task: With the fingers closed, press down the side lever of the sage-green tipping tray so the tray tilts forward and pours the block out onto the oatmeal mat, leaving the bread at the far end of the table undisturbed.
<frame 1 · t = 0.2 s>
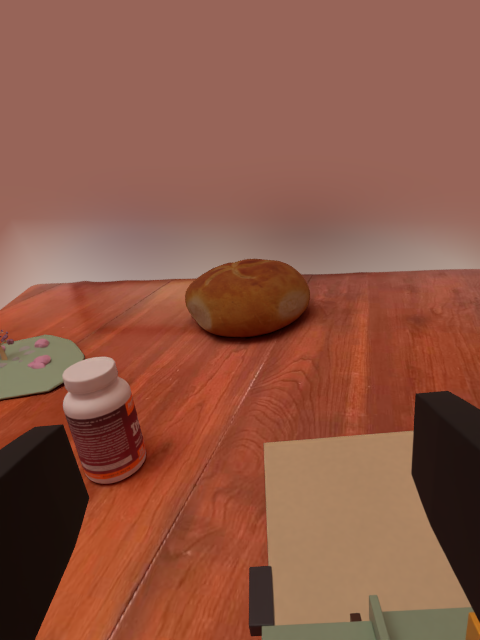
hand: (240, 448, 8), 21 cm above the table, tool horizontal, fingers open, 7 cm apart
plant: (22, 368, 66), on the table
mat: (397, 520, 31), on the table
bread: (248, 318, 75), on the table
pill bottle: (117, 465, 41), on the table
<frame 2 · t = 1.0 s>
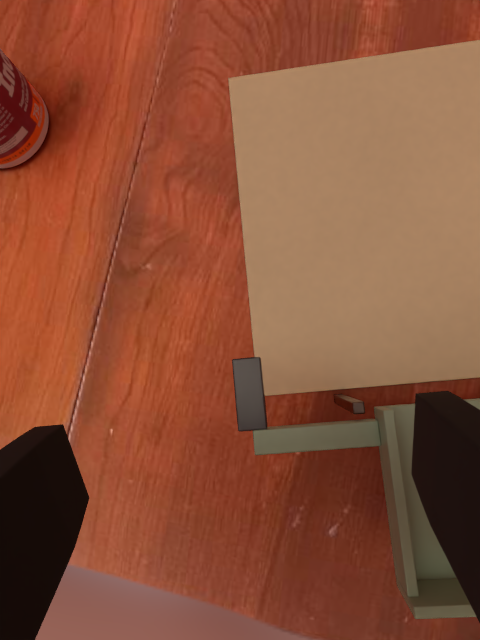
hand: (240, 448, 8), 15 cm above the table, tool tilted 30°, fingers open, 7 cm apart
mat: (411, 210, 24), on the table
stand: (448, 454, 22), on the table
tray: (441, 464, 16), point 7 cm above the table, hinge at 0.0°, touching block
pill bottle: (10, 129, 27), on the table
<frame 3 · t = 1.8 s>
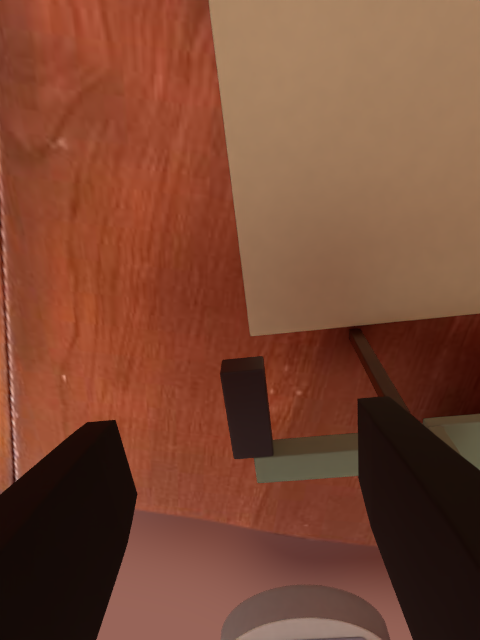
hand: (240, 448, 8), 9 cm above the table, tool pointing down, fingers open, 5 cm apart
stand: (476, 390, 19), on the table
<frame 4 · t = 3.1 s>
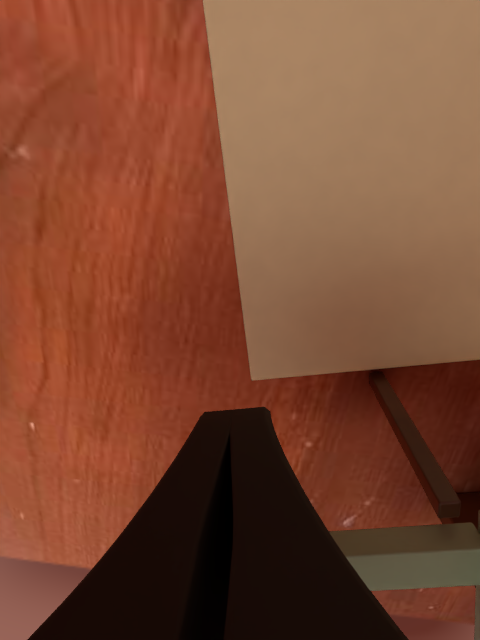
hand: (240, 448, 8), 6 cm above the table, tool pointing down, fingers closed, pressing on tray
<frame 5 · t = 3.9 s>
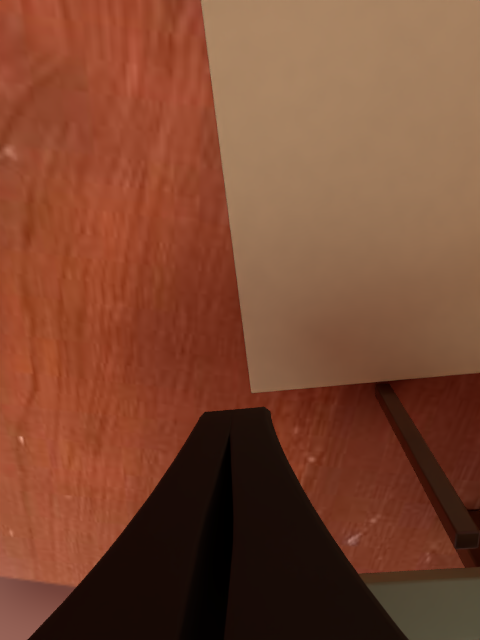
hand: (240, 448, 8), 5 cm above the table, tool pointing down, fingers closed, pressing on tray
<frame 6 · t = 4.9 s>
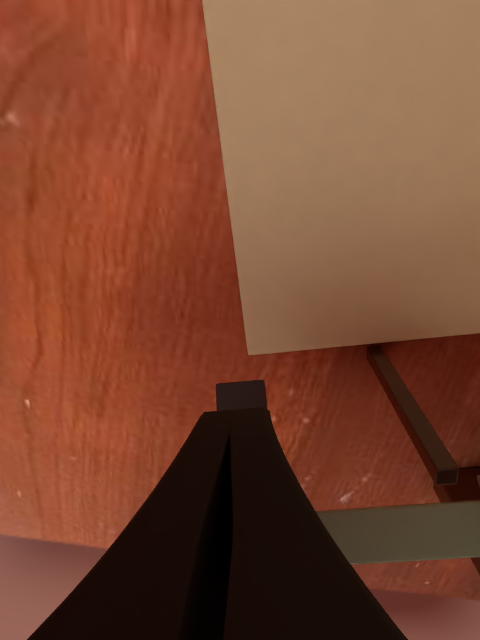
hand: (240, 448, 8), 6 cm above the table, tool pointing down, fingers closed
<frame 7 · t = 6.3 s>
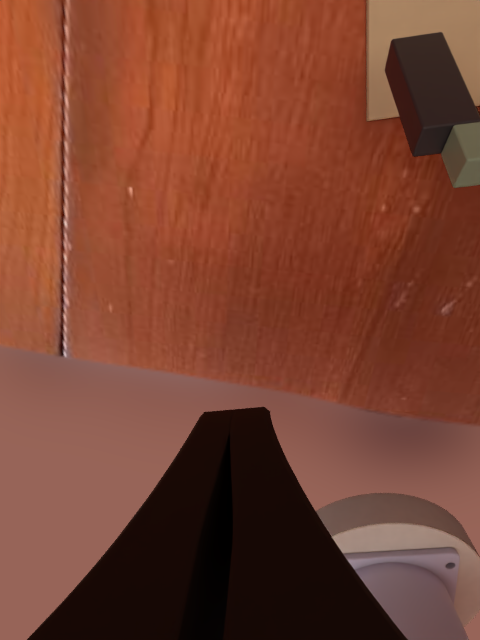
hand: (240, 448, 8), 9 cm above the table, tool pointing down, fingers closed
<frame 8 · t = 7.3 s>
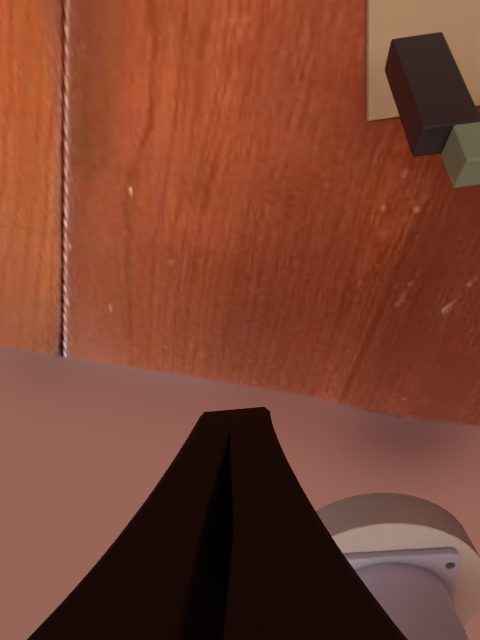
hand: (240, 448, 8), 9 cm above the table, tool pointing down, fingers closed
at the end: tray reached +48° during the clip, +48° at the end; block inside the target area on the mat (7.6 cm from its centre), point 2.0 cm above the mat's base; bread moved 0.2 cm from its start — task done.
